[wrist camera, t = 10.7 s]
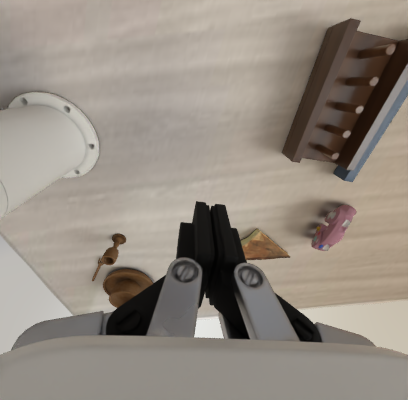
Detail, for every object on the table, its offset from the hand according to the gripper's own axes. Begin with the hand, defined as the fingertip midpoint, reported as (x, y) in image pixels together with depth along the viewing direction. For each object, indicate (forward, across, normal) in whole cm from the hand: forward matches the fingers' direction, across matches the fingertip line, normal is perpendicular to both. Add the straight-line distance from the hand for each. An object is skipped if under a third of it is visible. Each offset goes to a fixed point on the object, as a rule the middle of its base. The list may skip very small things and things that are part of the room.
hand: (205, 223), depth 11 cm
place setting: (+23, +10, +34) cm, 42 cm away
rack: (+22, -19, -8) cm, 30 cm away
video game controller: (+22, -28, +12) cm, 38 cm away
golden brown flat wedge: (+22, -18, +20) cm, 35 cm away
